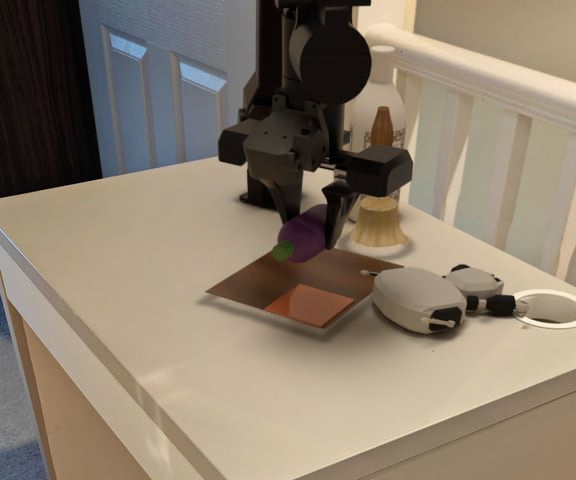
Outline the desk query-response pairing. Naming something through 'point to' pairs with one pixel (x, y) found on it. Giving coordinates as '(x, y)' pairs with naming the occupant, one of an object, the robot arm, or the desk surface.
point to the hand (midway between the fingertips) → (310, 243)
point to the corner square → (310, 305)
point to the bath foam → (366, 106)
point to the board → (303, 278)
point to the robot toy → (439, 297)
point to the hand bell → (379, 200)
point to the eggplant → (302, 236)
